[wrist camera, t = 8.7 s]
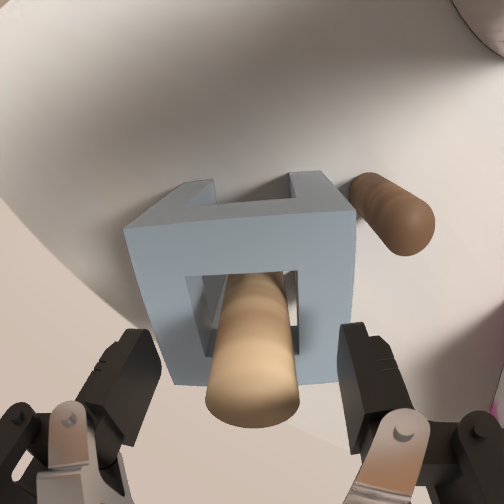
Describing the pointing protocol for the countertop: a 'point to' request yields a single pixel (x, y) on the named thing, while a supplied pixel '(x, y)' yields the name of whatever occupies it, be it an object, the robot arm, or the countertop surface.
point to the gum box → (499, 402)
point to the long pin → (253, 354)
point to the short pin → (393, 213)
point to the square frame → (245, 268)
